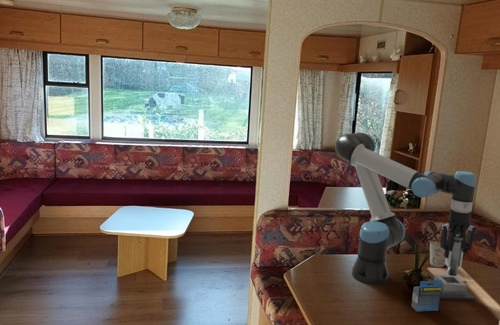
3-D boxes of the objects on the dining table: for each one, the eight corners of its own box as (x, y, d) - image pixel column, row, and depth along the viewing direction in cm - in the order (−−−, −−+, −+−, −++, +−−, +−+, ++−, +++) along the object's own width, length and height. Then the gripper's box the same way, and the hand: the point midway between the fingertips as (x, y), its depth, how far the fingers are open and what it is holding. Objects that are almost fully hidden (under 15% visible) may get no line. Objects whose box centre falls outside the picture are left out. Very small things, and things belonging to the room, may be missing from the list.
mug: (425, 265, 194) (428, 245, 192) (431, 256, 204) (433, 237, 202) (444, 270, 189) (447, 249, 187) (449, 261, 199) (452, 242, 198)
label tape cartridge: (432, 305, 157) (436, 275, 154) (438, 311, 153) (442, 280, 151) (410, 306, 155) (414, 276, 153) (416, 312, 151) (420, 281, 149)
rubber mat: (438, 280, 178) (439, 279, 178) (427, 268, 190) (427, 267, 190) (466, 282, 178) (466, 280, 178) (453, 270, 190) (453, 268, 190)
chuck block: (439, 298, 162) (441, 287, 161) (424, 282, 176) (426, 271, 175) (474, 300, 162) (476, 288, 161) (457, 283, 176) (458, 272, 175)
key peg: (448, 276, 165) (454, 238, 162) (443, 270, 170) (448, 233, 167) (460, 276, 165) (466, 238, 162) (454, 271, 170) (460, 234, 167)
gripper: (443, 212, 159) (436, 268, 163) (487, 214, 159) (478, 270, 163) (435, 206, 166) (428, 260, 171) (477, 208, 166) (468, 262, 171)
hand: (452, 265), depth 167 cm, fingers closed on key peg, 4 cm apart
